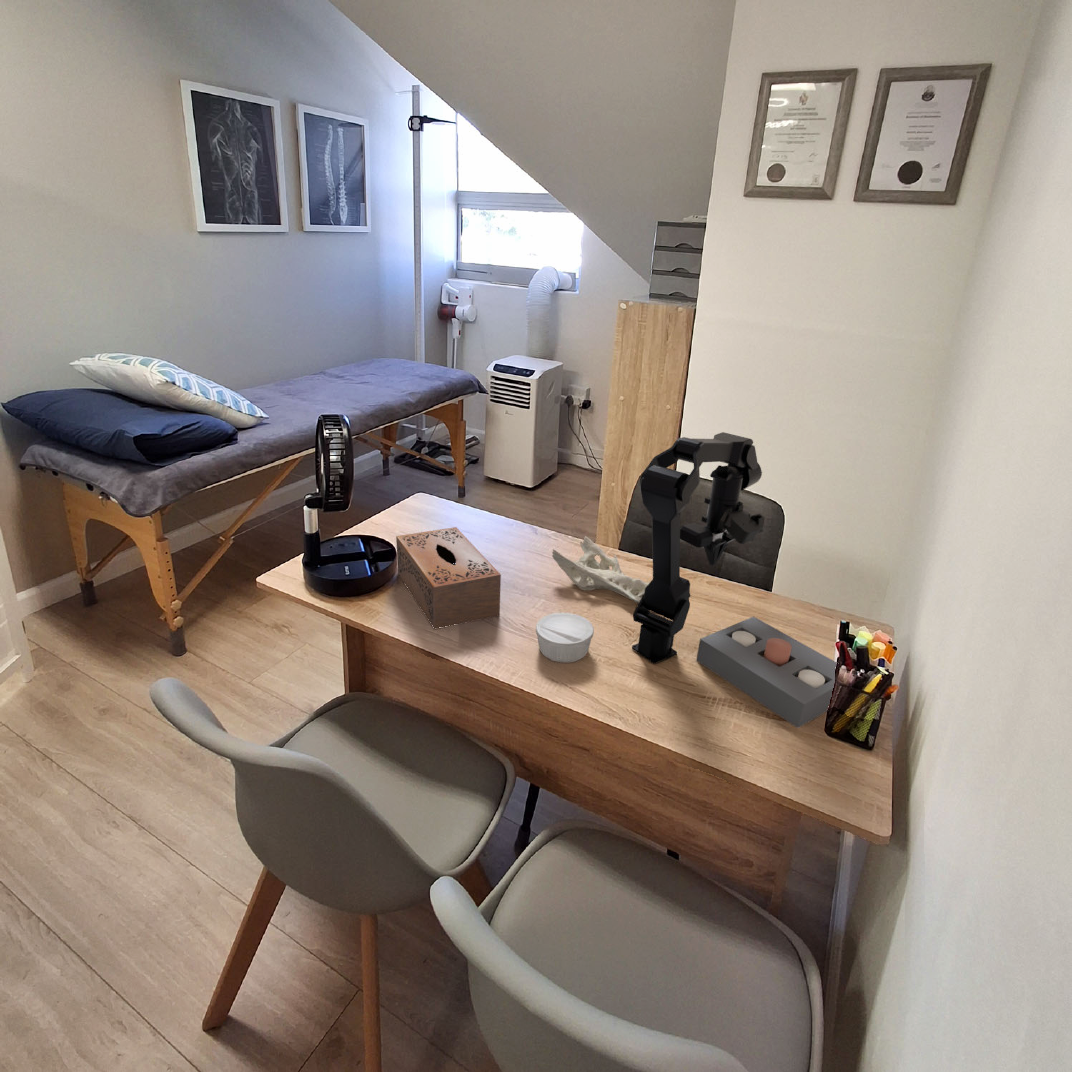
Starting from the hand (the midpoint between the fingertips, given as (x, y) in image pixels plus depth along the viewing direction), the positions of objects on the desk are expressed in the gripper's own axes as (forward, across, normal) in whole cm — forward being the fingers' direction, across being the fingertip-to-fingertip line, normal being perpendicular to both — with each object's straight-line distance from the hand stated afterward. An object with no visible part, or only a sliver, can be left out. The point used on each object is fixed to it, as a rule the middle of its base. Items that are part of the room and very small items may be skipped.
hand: (712, 564), depth 143 cm
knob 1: (+12, -7, -15) cm, 21 cm away
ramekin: (+12, -35, +5) cm, 37 cm away
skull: (+12, -11, +20) cm, 26 cm away
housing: (+12, -7, -23) cm, 27 cm away
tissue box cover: (+12, -44, +36) cm, 58 cm away
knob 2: (+12, -7, -31) cm, 33 cm away
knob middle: (+9, -7, -23) cm, 26 cm away
